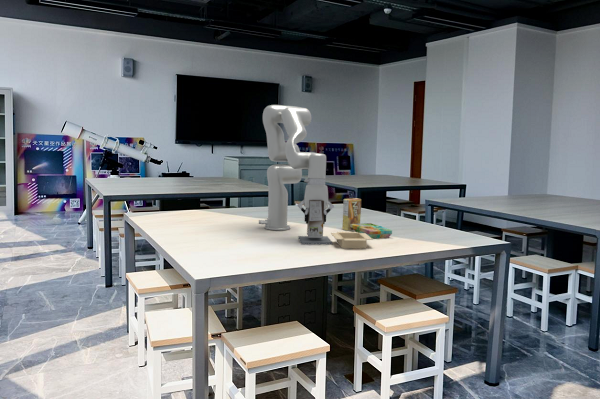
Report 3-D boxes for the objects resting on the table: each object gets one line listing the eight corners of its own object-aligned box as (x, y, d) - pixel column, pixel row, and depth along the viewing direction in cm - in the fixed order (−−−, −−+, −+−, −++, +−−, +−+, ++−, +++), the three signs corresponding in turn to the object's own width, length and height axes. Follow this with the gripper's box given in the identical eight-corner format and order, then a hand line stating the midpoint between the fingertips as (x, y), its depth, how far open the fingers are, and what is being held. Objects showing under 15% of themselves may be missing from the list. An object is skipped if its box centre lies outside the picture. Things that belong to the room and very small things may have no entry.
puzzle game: (369, 229, 225) (350, 222, 244) (369, 239, 226) (349, 231, 244) (392, 228, 229) (371, 221, 248) (391, 238, 230) (371, 231, 248)
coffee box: (323, 238, 213) (324, 200, 211) (308, 238, 212) (309, 200, 210) (320, 234, 222) (322, 198, 220) (306, 233, 221) (307, 197, 219)
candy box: (354, 227, 254) (355, 198, 253) (360, 229, 251) (361, 198, 249) (341, 229, 249) (343, 198, 247) (347, 230, 246) (349, 199, 244)
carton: (336, 249, 202) (337, 239, 201) (329, 240, 220) (330, 231, 219) (373, 249, 203) (374, 239, 203) (363, 240, 221) (363, 231, 221)
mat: (301, 244, 210) (301, 241, 210) (298, 238, 223) (298, 236, 223) (332, 244, 211) (332, 242, 211) (327, 238, 224) (327, 236, 224)
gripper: (297, 182, 210) (296, 224, 212) (338, 183, 211) (336, 225, 213) (295, 181, 217) (294, 221, 219) (335, 181, 219) (333, 222, 221)
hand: (315, 223), depth 216 cm, fingers closed on coffee box, 6 cm apart
